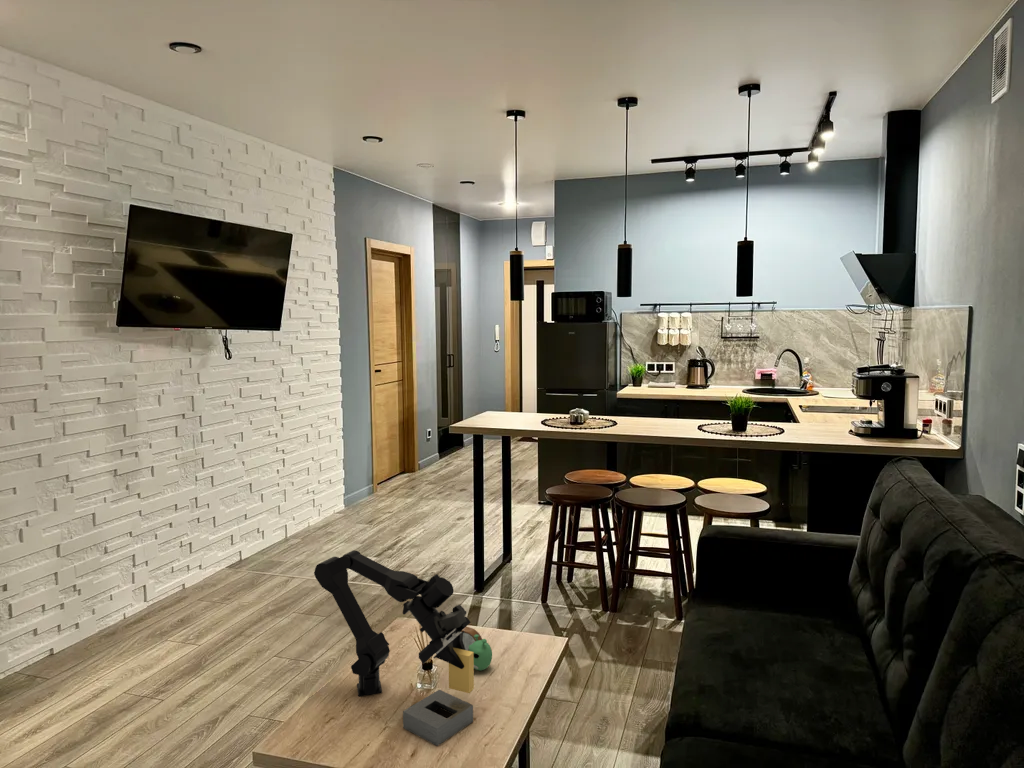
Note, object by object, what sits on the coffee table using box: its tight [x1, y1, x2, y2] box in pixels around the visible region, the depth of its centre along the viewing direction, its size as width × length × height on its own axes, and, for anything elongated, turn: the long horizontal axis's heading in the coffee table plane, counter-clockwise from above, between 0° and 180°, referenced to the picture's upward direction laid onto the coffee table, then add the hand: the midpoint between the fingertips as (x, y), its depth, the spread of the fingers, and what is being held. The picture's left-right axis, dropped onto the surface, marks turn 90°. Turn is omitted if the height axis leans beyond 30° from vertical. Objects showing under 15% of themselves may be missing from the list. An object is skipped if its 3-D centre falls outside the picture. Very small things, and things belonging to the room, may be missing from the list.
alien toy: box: [468, 634, 493, 671], centre depth 206 cm, size 7×8×10 cm
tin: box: [441, 625, 483, 651], centre depth 216 cm, size 15×3×8 cm, turn 58°
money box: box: [402, 689, 474, 747], centre depth 178 cm, size 12×13×4 cm
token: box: [448, 648, 475, 694], centre depth 182 cm, size 6×2×10 cm, turn 66°
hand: (465, 665), depth 181 cm, fingers closed on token, 2 cm apart
